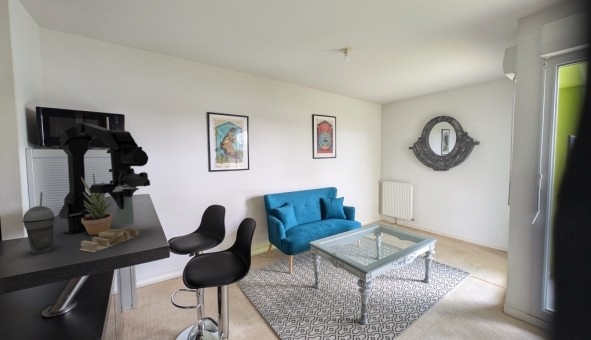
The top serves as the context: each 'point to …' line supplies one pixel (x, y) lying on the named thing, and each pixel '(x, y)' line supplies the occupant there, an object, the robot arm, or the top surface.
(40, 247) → the beverage cup
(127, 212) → the teal rectangular block
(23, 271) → the top surface
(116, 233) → the pine offcut
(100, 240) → the birch rack
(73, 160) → the robot arm
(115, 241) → the walnut offcut
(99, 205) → the potted plant
